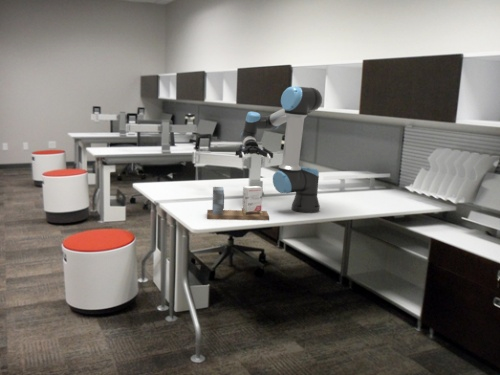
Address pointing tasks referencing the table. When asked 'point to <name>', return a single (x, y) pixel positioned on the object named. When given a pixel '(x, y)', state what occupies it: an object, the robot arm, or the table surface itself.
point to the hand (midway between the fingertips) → (256, 160)
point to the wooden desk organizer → (219, 213)
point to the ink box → (252, 198)
